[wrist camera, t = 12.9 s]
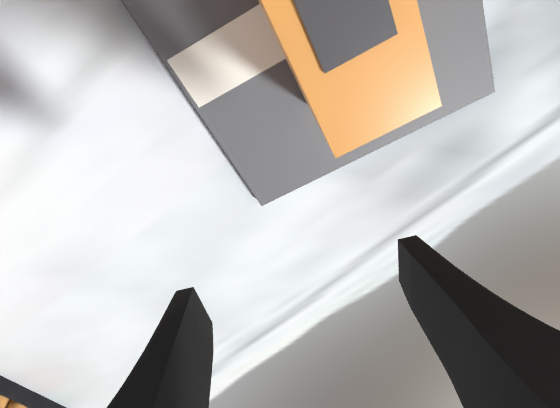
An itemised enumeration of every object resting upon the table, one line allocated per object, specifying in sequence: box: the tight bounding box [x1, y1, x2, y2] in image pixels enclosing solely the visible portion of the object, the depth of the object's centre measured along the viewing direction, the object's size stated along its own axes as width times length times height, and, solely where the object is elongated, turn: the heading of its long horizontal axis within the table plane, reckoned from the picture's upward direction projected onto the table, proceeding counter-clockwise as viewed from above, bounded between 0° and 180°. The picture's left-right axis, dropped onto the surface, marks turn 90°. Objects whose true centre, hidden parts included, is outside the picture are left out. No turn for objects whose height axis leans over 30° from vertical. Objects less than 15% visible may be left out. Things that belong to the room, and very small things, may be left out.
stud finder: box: [258, 0, 442, 158], centre depth 13 cm, size 4×8×6 cm, turn 27°
